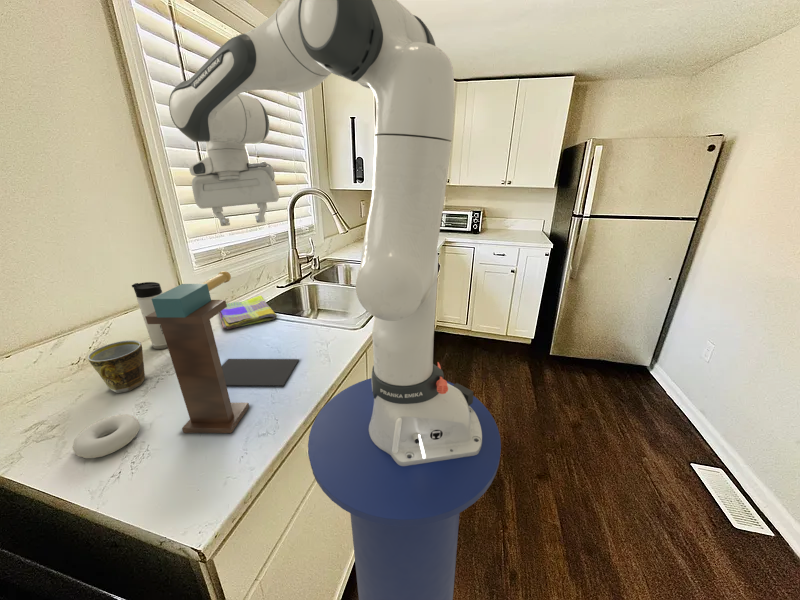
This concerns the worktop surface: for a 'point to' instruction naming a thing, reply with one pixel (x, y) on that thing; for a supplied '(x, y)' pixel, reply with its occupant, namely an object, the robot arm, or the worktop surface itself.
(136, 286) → the travel mug
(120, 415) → the donut
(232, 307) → the dish towel
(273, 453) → the worktop surface
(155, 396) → the worktop surface
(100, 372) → the ceramic cup
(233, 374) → the mat
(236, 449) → the worktop surface
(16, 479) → the worktop surface
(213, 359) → the brown wooden pedestal
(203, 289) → the mallet
